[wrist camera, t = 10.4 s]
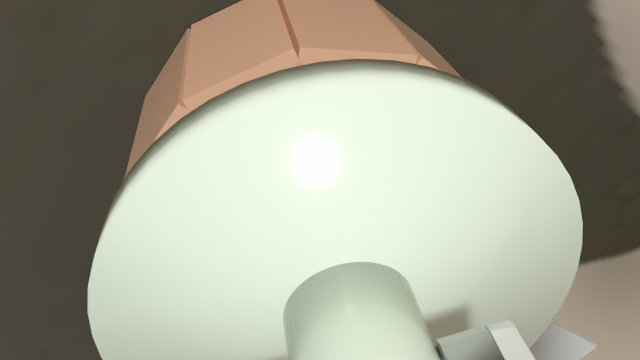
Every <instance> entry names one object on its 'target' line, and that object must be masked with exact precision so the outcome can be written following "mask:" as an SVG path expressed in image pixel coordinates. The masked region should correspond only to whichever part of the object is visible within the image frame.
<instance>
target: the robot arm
mask: <svg viewBox="0 0 640 360" xmlns="http://www.w3.org/2000/svg"><path fill="white" fill-rule="evenodd" d="M436 348H437V351H438V353H439V355H440V358H441V360H536V359H535V357H534V355H533V354H532V352H531V350H530V349H529V347H528V345H527V344H526V342H525V340H524V339H523V337H522V335H521V334H520V332H519V330H518V329H517V327H516V325H515V324H514V323H513V322H512V321H510V320H508V319H507V320H503V321H500V322H497V323H493V324H490V325H486V326H480V327H477V328H473V329H470V330H467V331H463V332H460V333H456V334H453V335H450V336H446V337H443V338H440V339H436Z"/></svg>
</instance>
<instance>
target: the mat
mask: <svg viewBox="0 0 640 360" xmlns="http://www.w3.org/2000/svg"><path fill="white" fill-rule="evenodd" d="M595 347H597V345H596V343H595V342H594V341H593V340H592V339H590V338H588V337H587V336H585V335H583V334H581V333H579V332H577V331H575V330H573V329H571V328H569V327H568V326H566V325H564V324H562V323H560V322H558V321H556V320H554V319H553V320H552V321H551V323H550V324H549V326H548V327H547V329H546V330H545V331H544V332H543V333H542V335H541V336H540V337H539V338H538V339H537V340H536V342H535V343H534V344H533V345H532V346H531V347H530V348H529V349H530V350H531V352H532V354H533V355H534V357H535V359H536V360H579V359H581V358H582V357H583V356H585V355H586V354H587V353H589V352H590V351H591V350H593V349H594V348H595Z"/></svg>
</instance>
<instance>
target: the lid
mask: <svg viewBox="0 0 640 360" xmlns="http://www.w3.org/2000/svg"><path fill="white" fill-rule="evenodd" d="M582 229H583V222H582V216H581V210H580V203H579V199H578V196H577V194H576V191H575V188H574V185H573V183H572V180H571V177H570V176H569V174H568V173H567V171H566V169H565V168H564V166H563V165H562V163H561V161H560V160H559V158H558V156H557V155H556V154H555V153H554V152H553V151H552V150H551V149H550V148H549V147H548V146H547V145H546V143H545V142H544V141H543V140H542V139H541V138H540V137H539V136H538V135H537V134H536V133H535V132H534V131H533V130H532V129H531V128H530V127H529V126H528V125H527V124H526V123H525V122H524V121H523V120H522V119H521V118H520V117H519V116H518V115H516V114H515V113H514V112H513V111H512V110H511V109H510V108H509V107H508V106H506V105H505V104H504V103H502V102H501V101H500V100H498V99H497V98H496V97H494V96H493V95H492V94H490V93H489V92H488V91H486V90H484V89H482V88H480V87H478V86H476V85H475V84H473V83H471V82H469V81H467V80H465V79H463V78H461V77H459V76H456V75H453V74H450V73H447V72H444V71H441V70H438V69H435V68H432V67H428V66H423V65H418V64H412V63H407V62H401V61H396V60H377V59H347V60H335V61H323V62H316V63H311V64H307V65H302V66H297V67H292V68H287V69H283V70H279V71H276V72H273V73H271V74H268V75H265V76H262V77H259V78H256V79H253V80H250V81H247V82H244V83H242V84H240V85H238V86H236V87H234V88H232V89H230V90H228V91H226V92H224V93H222V94H220V95H218V96H216V97H214V98H212V99H210V100H208V101H207V102H205V103H204V104H202V105H201V106H199V107H198V108H196V109H195V110H193V111H192V112H190V113H189V114H187V115H185V116H184V117H182V118H181V119H179V120H178V121H177V122H176V123H175V124H174V125H173V126H171V127H170V128H169V129H168V130H167V131H166V132H165V133H163V134H162V135H161V136H160V137H159V138H158V139H157V140H155V141H154V142H153V143H152V144H151V145H150V147H149V148H148V149H147V150H146V151H145V152H144V154H143V155H142V156H141V157H140V158H139V159H138V161H137V162H136V163H135V164H134V165H133V166H132V168H131V169H130V171H129V172H128V174H127V176H126V177H125V179H124V181H123V182H122V184H121V185H120V187H119V189H118V190H117V192H116V194H115V196H114V198H113V201H112V203H111V206H110V208H109V211H108V213H107V215H106V218H105V221H104V224H103V228H102V231H101V235H100V238H99V242H98V246H97V249H96V253H95V256H94V260H93V265H92V270H91V274H90V279H89V284H88V316H89V321H90V326H91V331H92V336H93V338H94V341H95V343H96V346H97V348H98V351H99V353H100V355H101V358H102V359H103V360H441V358H440V355H439V353H438V351H437V348H436V339H440V338H443V337H446V336H450V335H453V334H456V333H460V332H463V331H467V330H470V329H473V328H477V327H480V326H486V325H490V324H493V323H497V322H500V321H503V320H507V319H508V320H510V321H512V322H513V323H514V324H515V325H516V327H517V329H518V330H519V332H520V334H521V335H522V337H523V339H524V340H525V342H526V344H527V345H528V347H529V348H530V347H531V346H532V345H533V344H534V343H535V342H536V340H537V339H538V338H539V337H540V336H541V335H542V333H543V332H544V331H545V330H546V329H547V327H548V326H549V324H550V323H551V321H552V320H553V318H554V317H555V315H556V314H557V313H558V311H559V309H560V308H561V306H562V304H563V302H564V300H565V298H566V296H567V294H568V292H569V290H570V288H571V285H572V282H573V280H574V277H575V274H576V271H577V268H578V264H579V259H580V254H581V249H582Z"/></svg>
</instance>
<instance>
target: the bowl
mask: <svg viewBox="0 0 640 360" xmlns="http://www.w3.org/2000/svg"><path fill="white" fill-rule="evenodd" d="M347 59H377V60H396V61H401V62H407V63H412V64H418V65H423V66H428V67H432V68H435V69H438V70H441V71H444V72H447V73H450V74H453V75H456V76H459V77H461V76H460V75H459V74H458V73H457V72H456V71H455V70H454V69H453V68H452V67H451V66H450V65H449V64H448V62H447V61H446V60H445V59H444V58H443V57H442V56H441V55H440V54H439V53H438V52H437V51H436V50H435V49H434V48H433V47H432V46H431V45H430V44H429V43H428V42H427V41H426V40H424V39H423V38H422V37H421V36H419V35H418V34H417V33H416V32H414V31H413V30H412V29H411V28H409V27H408V26H407V25H406V24H404V23H403V22H402V21H401V20H399V19H398V18H397V17H395V16H394V15H393V14H392V13H390V12H389V11H388V10H387V9H385V8H384V7H383V6H382V5H380V4H379V3H378V2H377V1H375V0H242V1H240V2H238V3H236V4H234V5H232V6H230V7H228V8H225V9H223V10H221V11H219V12H217V13H215V14H213V15H211V16H209V17H207V18H205V19H203V20H201V21H199V22H196V23H194V24H192V25H191V29H189V28H188V29H187V30H186V32H185V34H184V35H183V37H182V38H181V40H180V42H179V43H178V45H177V46H176V48H175V50H174V51H173V53H172V55H171V56H170V58H169V59H168V61H167V63H166V64H165V66H164V67H163V69H162V71H161V72H160V74H159V75H158V77H157V79H156V80H155V82H154V84H153V85H152V87H151V88H150V90H149V92H148V93H147V95H146V96H145V100H144V104H143V108H142V112H141V116H140V120H139V124H138V127H137V131H136V135H135V139H134V143H133V147H132V151H131V155H130V159H129V163H128V167H127V171H126V175H125V177H126V176H127V174H128V172H129V171H130V169H131V168H132V166H133V165H134V164H135V163H136V162H137V161H138V159H139V158H140V157H141V156H142V155H143V154H144V152H145V151H146V150H147V149H148V148H149V147H150V145H151V144H152V143H153V142H154V141H155V140H157V139H158V138H159V137H160V136H161V135H162V134H163V133H165V132H166V131H167V130H168V129H169V128H170V127H171V126H173V125H174V124H175V123H176V122H177V121H178V120H179V119H181V118H182V117H184V116H185V115H187V114H189V113H190V112H192V111H193V110H195V109H196V108H198V107H199V106H201V105H202V104H204V103H205V102H207V101H208V100H210V99H212V98H214V97H216V96H218V95H220V94H222V93H224V92H226V91H228V90H230V89H232V88H234V87H236V86H238V85H240V84H242V83H244V82H247V81H250V80H253V79H256V78H259V77H262V76H265V75H268V74H271V73H273V72H276V71H279V70H283V69H287V68H292V67H297V66H302V65H307V64H311V63H316V62H323V61H335V60H347ZM461 78H462V77H461Z"/></svg>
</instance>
